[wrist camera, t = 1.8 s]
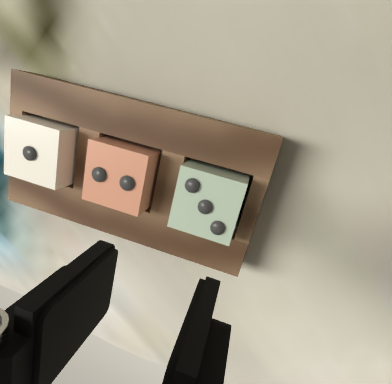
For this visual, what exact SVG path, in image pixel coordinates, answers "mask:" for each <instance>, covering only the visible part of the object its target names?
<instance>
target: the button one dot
mask: <svg viewBox="0 0 392 384" xmlns="http://www.w3.org/2000/svg"><path fill="white" fill-rule="evenodd" d="M78 134H79V128H78V127H74V126H71V125H67V124H64V123H60V122H56V121H53V120H49V119H46V118H42V117H39V116H35V115H5V138H4V174H6V175H9V176H12V177H15V178H18V179H22V180H25V181H28V182H31V183H34V184H37V185H40V186H43V187H46V188H49V189H53V190H57V189H60V188H63V187H65V186H68V185H71V184H74V175H75V164H76V154H77V144H78Z"/></svg>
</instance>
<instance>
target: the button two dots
mask: <svg viewBox="0 0 392 384" xmlns="http://www.w3.org/2000/svg"><path fill="white" fill-rule="evenodd" d="M161 155H162V151H160V150H156V149H153V148H149V147H146V146H142V145H138V144H135V143H131V142H128V141H124V140H121V139H117V138H113V137H110V136H106V137H98V138H91V139H88V145H87V154H86V163H85V173H84V182H83V191H82V199H84V200H87V201H90V202H93V203H96V204H99V205H102V206H105V207H108V208H112V209H115V210H118V211H121V212H124V213H127V214H130V215H133V216H136V217H138V216H139V215H141V214H142V213H143V212H144V211H145V210H147V209H148V208H149V207H150V206H151V205H152V200H153V195H154V190H155V185H156V180H157V175H158V170H159V165H160V160H161Z"/></svg>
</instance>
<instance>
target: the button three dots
mask: <svg viewBox="0 0 392 384" xmlns="http://www.w3.org/2000/svg"><path fill="white" fill-rule="evenodd" d="M248 182H249V175H245V174H242V173H238V172H235V171H231V170H227V169H224V168H220V167H217V166H213V165H210V164H206V163H203V162H199V161H195V160H192V159H190V160H188V161H187V162H185V163H183V164H182V165H181V166H180V170H179V175H178V179H177V184H176V188H175V193H174V197H173V202H172V206H171V211H170V215H169V220H168V224H167V227H171V228H174V229H177V230H180V231H183V232H186V233H189V234H192V235H195V236H198V237H202V238H205V239H208V240H211V241H214V242H217V243H220V244H223V245H226V246H229V245H230V241H231V238H232V235H233V232H234V228H235V225H236V222H237V219H238V215H239V212H240V209H241V206H242V202H243V199H244V196H245V193H246V189H247V186H248Z"/></svg>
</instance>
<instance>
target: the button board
mask: <svg viewBox="0 0 392 384" xmlns="http://www.w3.org/2000/svg"><path fill="white" fill-rule="evenodd" d="M10 115H35V116H39V117H42V118H43V117H46V118H50V119H53V120H57V121H60V122H64V123H67V124H71V125H75V126H78V127H79V134H78V144H77V154H76V164H75V175H74V184H71V185H68V186H65V187H63V188H60V189H57V190H53V189H49V188H46V187H43V186H40V185H37V184H34V183H31V182H28V181H25V180H22V179H18V178H15V177H12V176H9V191H8V200H11V201H14V202H17V203H20V204H23V205H26V206H29V207H32V208H35V209H38V210H41V211H44V212H47V213H50V214H53V215H56V216H59V217H62V218H65V219H68V220H71V221H73V222H76V223H79V224H82V225H85V226H88V227H91V228H94V229H97V230H100V231H103V232H106V233H109V234H112V235H115V236H118V237H121V238H124V239H127V240H130V241H133V242H136V243H139V244H142V245H145V246H148V247H151V248H154V249H157V250H160V251H162V252H165V253H168V254H171V255H174V256H177V257H180V258H183V259H186V260H189V261H192V262H195V263H198V264H201V265H204V266H207V267H210V268H213V269H216V270H219V271H222V272H225V273H228V274H231V275H234V276H237V277H238V274H239V271H240V268H241V265H242V262H243V259H244V256H245V253H246V250H247V247H248V244H249V241H250V238H251V235H252V232H253V229H254V226H255V223H256V220H257V217H258V214H259V211H260V208H261V205H262V202H263V199H264V196H265V193H266V190H267V187H268V184H269V181H270V178H271V175H272V172H273V169H274V166H275V163H276V160H277V156H278V153H279V150H280V147H281V144H282V141H283V137H282V136H279V135H275V134H271V133H267V132H263V131H259V130H255V129H252V128H248V127H244V126H240V125H236V124H232V123H228V122H224V121H220V120H216V119H212V118H208V117H204V116H201V115H197V114H193V113H189V112H185V111H181V110H177V109H173V108H169V107H165V106H161V105H157V104H154V103H150V102H146V101H142V100H138V99H134V98H130V97H126V96H122V95H118V94H114V93H110V92H106V91H103V90H99V89H95V88H91V87H87V86H83V85H79V84H75V83H71V82H67V81H63V80H59V79H56V78H52V77H48V76H44V75H40V74H36V73H31V72H26V71H21V70H15V69H11V97H10ZM106 136H110V137H113V138H114V137H117V138H121V139H125V140H128V141H132V142H135V143H139V144H142V145H146V146H150V147H153V148H157V149H160V150H162V155H161V160H160V165H159V170H158V175H157V180H156V185H155V190H154V195H153V200H152V205H151V206H150V207H149V208H148V209H147V210H145V211H144V212H143V213H142V214H141V215H139V216H138V217H136V216H133V215H130V214H127V213H124V212H121V211H118V210H115V209H112V208H108V207H105V206H102V205H99V204H96V203H93V202H90V201H87V200H84V199H82V191H83V182H84V173H85V163H86V154H87V145H88V139H91V138H98V137H106ZM191 158H192V159H196V160H200V161H203V162H207V163H210V164H214V165H217V166H221V167H225V168H228V169H232V170H235V171H239V172H242V173H246V174H250V175H253V177H252V180H251V184H250V187H249V190H248V193H247V197H246V200H245V203H244V206H243V209H242V213H241V216H240V219H239V222H238V226H237V228H234V232H233V235H232V238H231V241H230V245H229V246H226V245H223V244H220V243H217V242H214V241H211V240H208V239H205V238H202V237H198V236H195V235H192V234H189V233H186V232H183V231H180V230H177V229H174V228H171V227H167V224H168V220H169V215H170V211H171V206H172V202H173V197H174V193H175V188H176V184H177V179H178V175H179V170H180V166H181V165H182V164H183V163H185V162H187V161H188V160H190V159H191Z"/></svg>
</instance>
